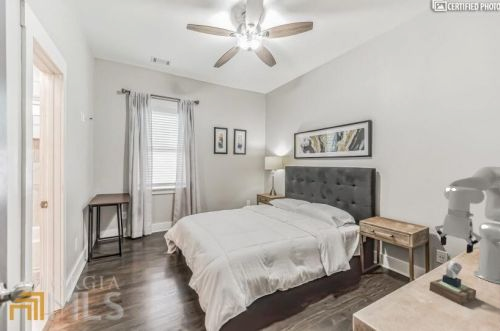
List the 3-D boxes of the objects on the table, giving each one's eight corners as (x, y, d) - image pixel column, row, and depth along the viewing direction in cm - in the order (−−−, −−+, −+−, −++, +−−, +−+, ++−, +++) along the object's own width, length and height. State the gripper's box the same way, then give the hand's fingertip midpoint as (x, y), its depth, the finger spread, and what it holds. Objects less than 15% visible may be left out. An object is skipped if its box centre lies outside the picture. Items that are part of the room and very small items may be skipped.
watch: (462, 285, 107) (464, 262, 106) (454, 288, 103) (456, 265, 103) (448, 279, 112) (449, 257, 111) (440, 282, 108) (442, 260, 108)
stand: (444, 285, 114) (445, 276, 114) (475, 298, 104) (476, 289, 104) (429, 290, 109) (430, 281, 109) (460, 305, 98) (461, 295, 98)
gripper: (486, 217, 99) (484, 255, 100) (440, 209, 115) (438, 241, 115) (479, 218, 96) (476, 257, 96) (432, 209, 112) (430, 243, 112)
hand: (455, 248), depth 106 cm, fingers open, 9 cm apart
